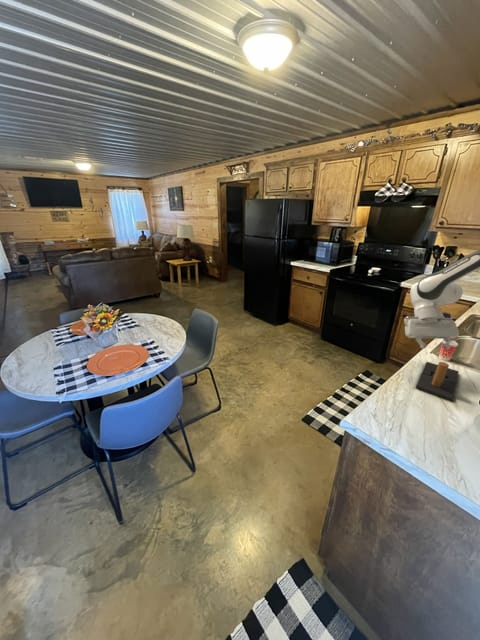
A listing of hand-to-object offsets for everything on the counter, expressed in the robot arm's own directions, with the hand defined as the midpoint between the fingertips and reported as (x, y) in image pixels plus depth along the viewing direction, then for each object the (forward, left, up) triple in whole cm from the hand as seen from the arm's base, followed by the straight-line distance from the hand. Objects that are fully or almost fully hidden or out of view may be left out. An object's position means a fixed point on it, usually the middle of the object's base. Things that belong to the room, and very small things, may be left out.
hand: (435, 348), depth 108 cm
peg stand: (-1, +5, -15) cm, 16 cm away
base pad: (-8, -2, -15) cm, 17 cm away
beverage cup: (-21, -15, -15) cm, 30 cm away
